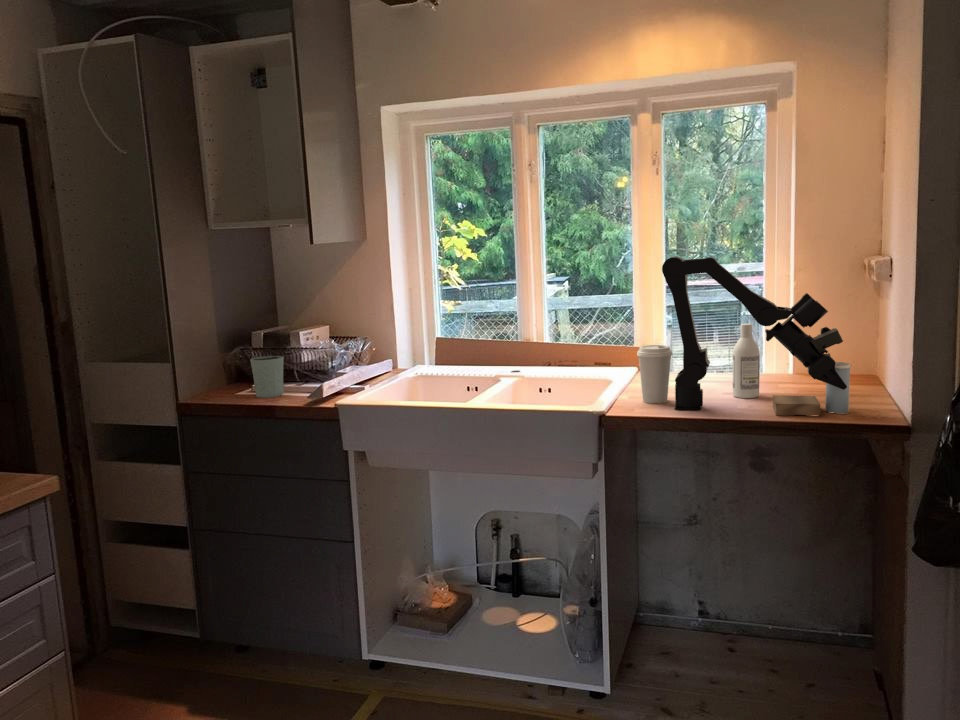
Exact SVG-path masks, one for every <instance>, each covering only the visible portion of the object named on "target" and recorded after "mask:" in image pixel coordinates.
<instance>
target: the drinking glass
mask: <svg viewBox="0 0 960 720" xmlns="http://www.w3.org/2000/svg"><path fill="white" fill-rule="evenodd" d="M284 360H285V359H284V356H283V355H282V356H281V355H267V356H266V355H264V356H257V357H252V358H250V360H249V361H250V366H251V371H252V375H253V376H252V377H253V384H254V390H255V396H256V398H260V399H261V398H262V399H265V398H268V399H269V398H274V397H275V398H276V397H281V396H283V395H284ZM282 394H283V395H282ZM280 395H281V396H280Z"/></svg>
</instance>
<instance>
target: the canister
mask: <svg viewBox="0 0 960 720" xmlns="http://www.w3.org/2000/svg"><path fill="white" fill-rule="evenodd" d="M835 362H836V364H835V371H836V372H837V373H838V375H839V376H840V377H841V379H842V380H843V382H844V383H845V384H846V386H847V388H846V389H845V390H843V389H840V388H838V387H835V386H833V385H830V384H828V383H825V410H826V411H828V412H834V413H847V414H848V412H850V411H849V410H850V409H849V408H850V378H851V365H852V364H851V363H850V362H844V361H843V362H842V361H835ZM825 410H824V411H825Z"/></svg>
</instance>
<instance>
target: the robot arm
mask: <svg viewBox="0 0 960 720" xmlns="http://www.w3.org/2000/svg"><path fill="white" fill-rule="evenodd" d="M661 272H662V275H663V277H664V279H665V282H666V284H667V287H668V288H669V290H670V292H671V296H672V299H673V304H674V309H675V313H676V318H677V323H678V327H679V331H680V332H679V333H680V336H681V337H680V338H681V341H682V347H683V348H682V349H683V350H682V351H683V352H682V353H683V355H682V364H683V366H682V369H681V370H680V371H679V372H678V373H677V375H676V377H675V379H674V381H675V386H674V387H675V388H674V390H675V391H674V395H675V396H674V399H675V404H674V410H676V411H677V410H680V411H681V410H683V411H686V410H687V411H690V410H691V411H700V410H701V409H702V407H703V406H704V404H703V403H704V402H703V401H704V389H703V388H701V383H699V381H701V380H703V379H704V378H705V376H706V375H707V372H708V369H709V366H710V363H711V361H710V359H709V358H708V348H707V347H705V348H701V345H700V343H699V340H698V335H697V331H696V330H697V329H696V325H695V321H694V317H693V316H694V315H693V311H692V306H691V303H690V302H691V301H690V297H689V292H688V275H689V276H690V275H699V274H706V275H708V276H710V277H711V278H712V280H714V281H715V282H716V283H718V284H719V285H720V286H721V287H722V288H723V289H725V290H726V291H727V292H729V293H730V295H732V296H733V297H734V298H736V299H737V300H738V301H739V302H740V303H741V304H742V305H743V307H745V309H746V311H747V312H748V313H749V314H750V315H751V316H752V318H753V319H754V320H755V321H756V323H758V325H760V326H762V327H771V326H773V325H774V326H773V327H772V328H769V329H767V328H766V329H765V331H764V332H765V334H766V335H765V341H767V342H770V341H771V340H772V339H773V338H775V339H776V340H777V341H778V342H779V343H780V344H781V345H782V346H783V347H784V348H785V349H787V350H788V352H790V355H791V356H794V357H795V358H796V359H797V360H798V361H799V362H800V363H801V364H802V365H803V366H804V368H807V373H808V375H809V376H810V377H812V379H813V380H818V381H820V382H822V383H825V384H826V383H828V384H830V385H833V386H835V387H838V388H840V389H843V390H845V389H846V388H847V386H846V384H845V383H844V382H843V380H842V379H841V377H840V376H839V375H838V373H837V372H836V371H835V364H836V362H837V361H836V360H835V359H834V358H833V357H831V353H829V351H828V350H827V349H828V348H830V347H832V346H835V345H839V344H841V343H843V342H844V339H843V338H842V335H841V334H840V331H839V330H838V328H834V327H833V328H829V327H828V326H824V327H821V328H820V334H817V336H815V337H813V336H811V335H810V334H807V333H806V332H805V331H804V330H803V329H802V328H805V327H806V328H807V327H809V328H810V329H811V328H812V327H813V326H814V325H815V324H816V323H818V321H820V320H821V319H822V318H823V317H824V316H825V315H826V314H827V313H829V311H828V309H826V307H824V306H823V305H822V304H821V303H820V302H819V301H818V300H816V299H814V298H813V297H812V296H811V295H810V294H809V293H808V292H806V293H804V294H803V295H802V297H801V298H800V299H799V300H798V301H797V302H796V303H794V304H793V305H792V306H791V307H788V306H785V307H784V306H778V305H776V304H775V302H773V301H770V300H769V299H767V298H765V297H764V296H762V295H760V294H758V293H756V292H754V291H753V290H751V289H750V288H749V287H748V286H746V284H744V283H743V282H742V281H741V280H740V279H738V278H737V277H736V276H735V275H734V274H732V273H731V272H729V270H727V269H726V268H725V267H724V266H722V264H720V262H718V261H717V259H716V258H715V257H711V256H709V257H706V258H705V257H704V258H692V259H684V258H682V256H681V257H680V256H672V257H670V258H667V259H666V260H665V261H664V262H663V264H662V266H661ZM783 320H785V321H783ZM793 320H794V321H796V322H797V323H798V324H799V325H800V326H801V327H802V328H801V327H799V326H798V325H797V324H796V322H794V321H793ZM780 321H783V322H780Z"/></svg>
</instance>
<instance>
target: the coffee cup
mask: <svg viewBox="0 0 960 720" xmlns="http://www.w3.org/2000/svg"><path fill="white" fill-rule="evenodd" d="M672 351H673V350H672V349H671V347H670V346H669V345H664V344H663V345H662V344H647V345H642V346H639V348H638V350H637V352H636V356H638V365H639V374H640V375H639V376H640V384H641V386H640V387H641V393H642V401H643V403H645V402H646V404H653V403H658V404H664V403H667V402H668V397H669V396H668V394H669V384H670V371H671V361H672V360H671V359H672V356H673V352H672Z"/></svg>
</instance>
